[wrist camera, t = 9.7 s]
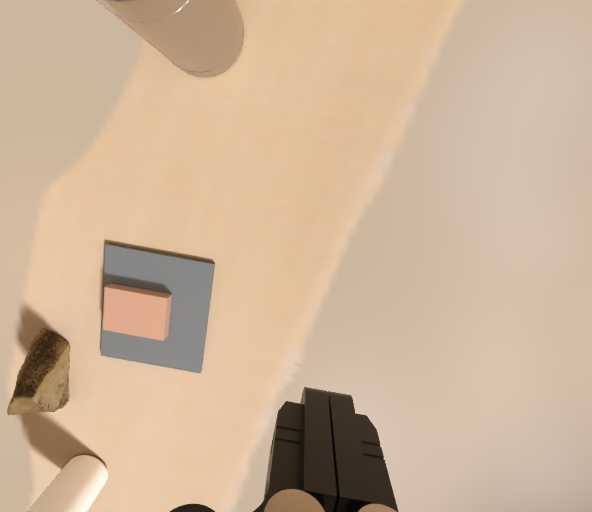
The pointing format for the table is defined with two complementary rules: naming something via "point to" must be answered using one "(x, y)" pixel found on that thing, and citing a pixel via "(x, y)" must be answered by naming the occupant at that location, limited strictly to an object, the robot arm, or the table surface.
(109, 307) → the tile
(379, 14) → the table surface
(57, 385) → the rock
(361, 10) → the table surface
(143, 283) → the mat
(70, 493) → the can
